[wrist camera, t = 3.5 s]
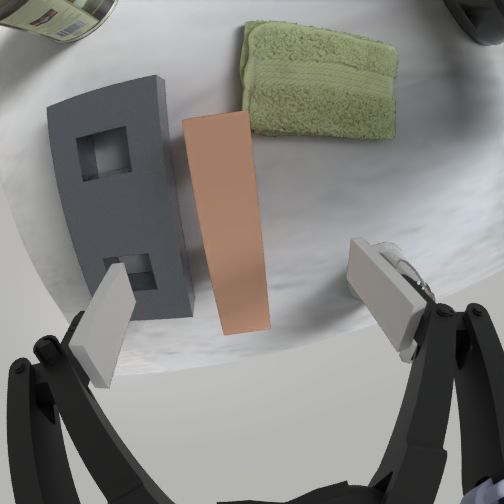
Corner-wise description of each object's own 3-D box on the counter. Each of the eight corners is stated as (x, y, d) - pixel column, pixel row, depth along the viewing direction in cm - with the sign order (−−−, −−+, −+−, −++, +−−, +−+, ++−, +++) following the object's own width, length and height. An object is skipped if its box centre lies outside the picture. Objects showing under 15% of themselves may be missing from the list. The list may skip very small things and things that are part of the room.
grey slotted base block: (65, 106, 22) (46, 107, 19) (164, 80, 23) (156, 74, 20) (111, 302, 35) (102, 321, 31) (194, 296, 35) (193, 316, 32)
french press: (354, 311, 40) (432, 453, 18) (336, 250, 34) (450, 419, 12) (408, 283, 39) (502, 402, 17) (398, 219, 33) (538, 343, 11)
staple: (197, 119, 26) (182, 120, 15) (237, 113, 26) (248, 110, 15) (221, 265, 34) (223, 335, 23) (254, 260, 34) (270, 328, 23)
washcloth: (239, 22, 22) (241, 12, 19) (388, 46, 23) (403, 42, 20) (237, 136, 28) (239, 138, 25) (386, 146, 29) (400, 150, 26)
